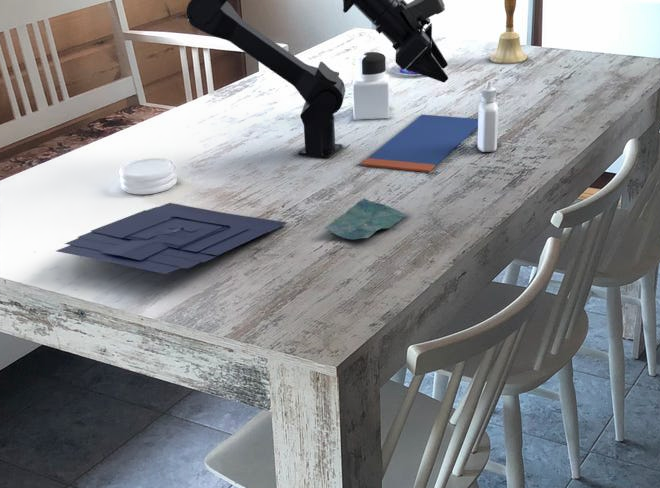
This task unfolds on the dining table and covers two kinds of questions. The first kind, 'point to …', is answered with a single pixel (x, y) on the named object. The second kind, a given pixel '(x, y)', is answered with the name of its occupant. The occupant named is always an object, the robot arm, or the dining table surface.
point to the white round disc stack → (148, 176)
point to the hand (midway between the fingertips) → (446, 73)
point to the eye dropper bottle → (488, 120)
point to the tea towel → (423, 143)
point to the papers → (169, 237)
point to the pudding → (403, 71)
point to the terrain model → (365, 220)
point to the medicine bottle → (370, 87)
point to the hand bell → (509, 40)
